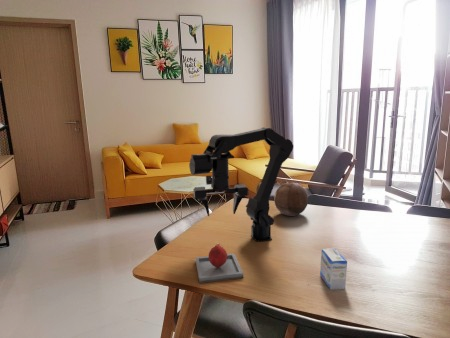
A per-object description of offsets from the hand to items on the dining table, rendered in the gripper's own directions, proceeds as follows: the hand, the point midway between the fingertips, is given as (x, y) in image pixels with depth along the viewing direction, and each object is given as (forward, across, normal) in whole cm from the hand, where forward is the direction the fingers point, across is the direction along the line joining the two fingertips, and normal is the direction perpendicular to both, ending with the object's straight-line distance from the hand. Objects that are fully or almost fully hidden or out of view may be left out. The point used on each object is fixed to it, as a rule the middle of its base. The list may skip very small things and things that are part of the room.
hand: (221, 214), depth 115 cm
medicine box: (+12, -27, +30) cm, 42 cm away
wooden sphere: (+12, -36, -25) cm, 45 cm away
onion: (+12, +4, +16) cm, 20 cm away
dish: (+12, +4, +16) cm, 20 cm away
